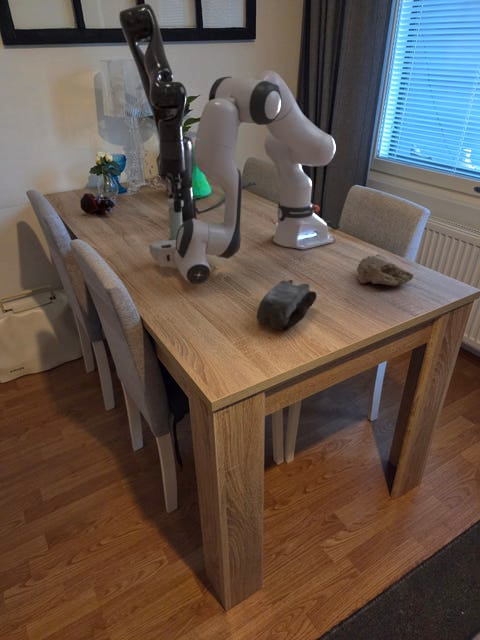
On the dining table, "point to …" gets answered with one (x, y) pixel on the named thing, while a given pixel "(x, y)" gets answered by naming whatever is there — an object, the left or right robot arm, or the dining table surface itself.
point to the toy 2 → (199, 181)
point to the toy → (97, 204)
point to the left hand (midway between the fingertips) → (175, 209)
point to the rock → (285, 304)
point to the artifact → (381, 271)
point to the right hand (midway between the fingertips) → (176, 238)
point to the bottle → (174, 222)
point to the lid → (171, 203)
